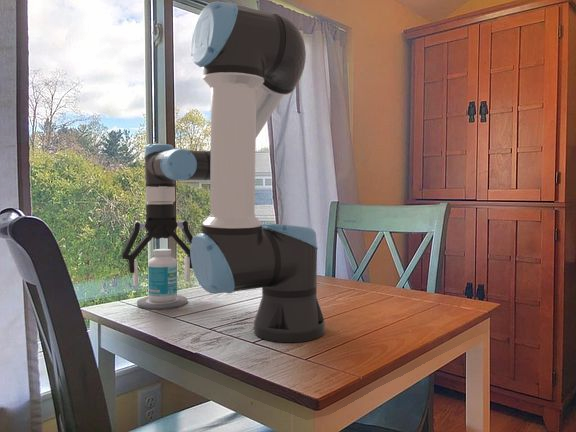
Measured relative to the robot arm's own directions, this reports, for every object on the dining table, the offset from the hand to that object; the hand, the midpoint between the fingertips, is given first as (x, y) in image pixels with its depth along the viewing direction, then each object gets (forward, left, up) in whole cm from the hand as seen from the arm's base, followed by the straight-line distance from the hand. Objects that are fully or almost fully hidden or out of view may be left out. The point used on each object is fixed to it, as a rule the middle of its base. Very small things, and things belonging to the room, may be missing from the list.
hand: (162, 282), depth 128 cm
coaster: (0, 0, -6) cm, 6 cm away
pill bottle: (0, 0, -5) cm, 5 cm away
